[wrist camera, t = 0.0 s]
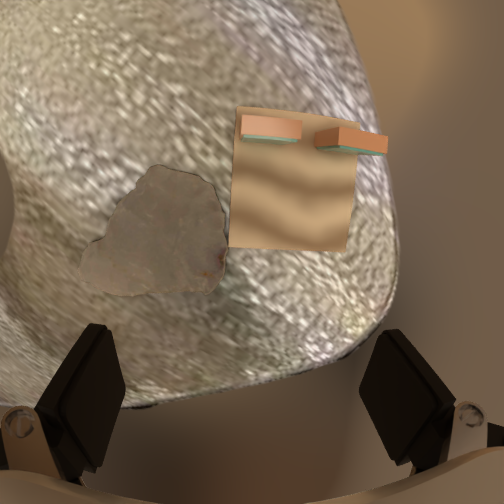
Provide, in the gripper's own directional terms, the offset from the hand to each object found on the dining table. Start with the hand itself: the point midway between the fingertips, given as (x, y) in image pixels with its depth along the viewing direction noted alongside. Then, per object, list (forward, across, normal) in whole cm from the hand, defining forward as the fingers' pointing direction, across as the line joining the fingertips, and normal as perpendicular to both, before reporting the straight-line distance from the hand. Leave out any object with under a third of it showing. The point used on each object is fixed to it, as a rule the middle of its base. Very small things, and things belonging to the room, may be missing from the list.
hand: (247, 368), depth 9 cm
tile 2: (+30, -13, -10) cm, 34 cm away
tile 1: (+30, -3, -10) cm, 32 cm away
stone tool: (+32, +13, +6) cm, 35 cm away
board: (+31, -8, -4) cm, 32 cm away
